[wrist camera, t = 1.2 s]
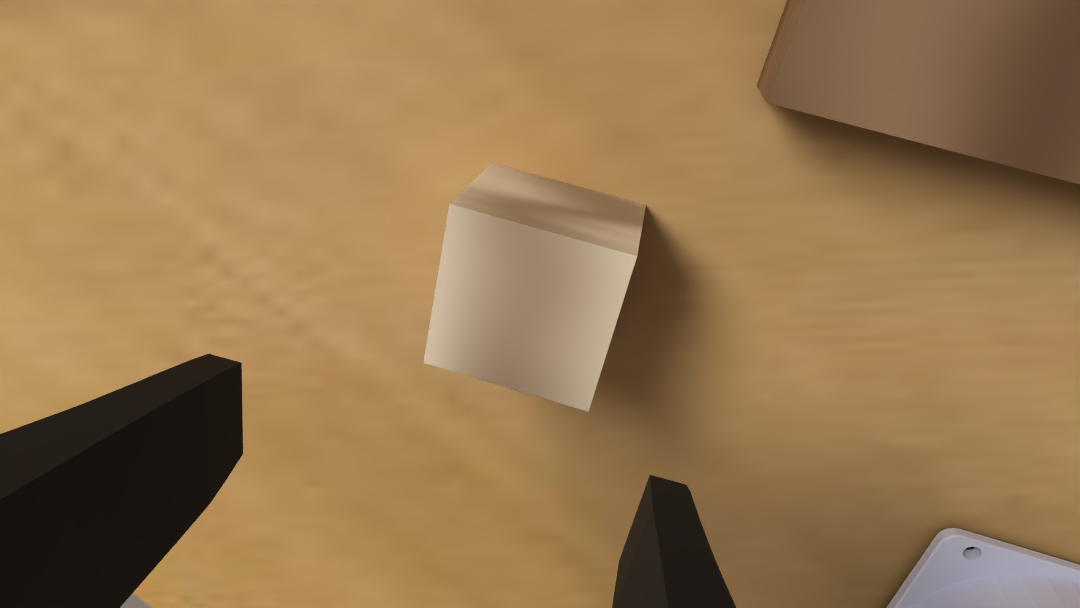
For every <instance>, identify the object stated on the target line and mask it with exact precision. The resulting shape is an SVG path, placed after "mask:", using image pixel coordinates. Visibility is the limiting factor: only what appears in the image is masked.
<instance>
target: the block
mask: <svg viewBox="0 0 1080 608" xmlns="http://www.w3.org/2000/svg"><path fill="white" fill-rule="evenodd" d="M645 208H646V205H644V204H641V203H637V202H633V201H630V200H626V199H623V198H619V197H615V196H612V195H608V194H604V193H601V192H597V191H593V190H590V189H586V188H582V187H579V186H575V185H571V184H568V183H564V182H560V181H557V180H553V179H549V178H546V177H542V176H538V175H535V174H531V173H528V172H524V171H520V170H517V169H513V168H509V167H506V166H502V165H498V164H495V163H491V164H490V165H489V166H488V167H487V168H486V169H485V170H484V171H483V172H482V173H481V174H480V175H479V176H477V177H476V178H475V179H474V180H473V181H472V182H471V183H470V184H469V185H468V186H467V187H466V188H465V189H464V190H463V191H462V192H461V193H460V194H459V195H458V196H457V197H456V198H455V199H454V200H453V201H452V202H451V203H450V205H449V211H448V217H447V223H446V229H445V235H444V241H443V247H442V253H441V260H440V266H439V272H438V278H437V284H436V290H435V296H434V302H433V308H432V314H431V320H430V326H429V333H428V339H427V345H426V351H425V357H424V363H426V364H429V365H433V366H436V367H439V368H443V369H446V370H450V371H453V372H456V373H460V374H463V375H466V376H470V377H473V378H476V379H480V380H483V381H487V382H490V383H493V384H497V385H500V386H503V387H507V388H510V389H513V390H517V391H520V392H523V393H527V394H530V395H534V396H537V397H540V398H544V399H547V400H550V401H554V402H557V403H560V404H564V405H567V406H570V407H574V408H577V409H581V410H584V411H587V412H589V409H590V406H591V402H592V399H593V396H594V393H595V390H596V386H597V383H598V380H599V377H600V374H601V370H602V367H603V364H604V361H605V358H606V354H607V351H608V348H609V345H610V342H611V338H612V335H613V332H614V329H615V326H616V322H617V319H618V316H619V313H620V310H621V307H622V303H623V300H624V297H625V294H626V291H627V287H628V284H629V281H630V278H631V275H632V271H633V268H634V265H635V262H636V259H637V255H638V249H639V243H640V237H641V231H642V225H643V219H644V214H645Z"/></svg>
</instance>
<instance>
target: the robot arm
mask: <svg viewBox="0 0 1080 608" xmlns="http://www.w3.org/2000/svg"><path fill="white" fill-rule="evenodd" d="M242 454H243V427H242V368H241V363H240V362H237V361H233V360H229V359H226V358H222V357H218V356H215V355H211V354H207V355H204V356H201V357H198V358H195V359H193V360H190V361H187V362H185V363H182V364H180V365H177V366H175V367H172V368H170V369H167V370H165V371H162V372H160V373H158V374H155V375H153V376H150V377H148V378H145V379H143V380H141V381H138V382H136V383H133V384H131V385H128V386H126V387H123V388H121V389H119V390H116V391H114V392H111V393H109V394H106V395H104V396H101V397H99V398H96V399H94V400H91V401H89V402H86V403H84V404H81V405H79V406H76V407H74V408H71V409H68V410H65V411H63V412H60V413H57V414H54V415H52V416H49V417H46V418H43V419H41V420H38V421H35V422H33V423H30V424H27V425H24V426H22V427H19V428H16V429H13V430H11V431H8V432H5V433H2V434H0V608H120V606H122V604H123V603H124V602H125V601H126V600H127V599H128V597H129V596H130V595H131V594H132V593H133V592H134V591H135V590H136V588H137V587H138V586H139V585H140V584H141V583H142V582H143V580H144V579H145V578H146V577H147V576H148V575H149V574H150V572H151V571H152V570H153V569H154V568H155V567H156V565H157V564H158V563H159V562H160V561H161V560H162V559H163V557H164V556H165V555H166V554H167V553H168V552H169V551H170V549H171V548H172V547H173V546H174V545H175V544H176V543H177V541H178V540H179V539H180V538H181V537H182V536H183V534H184V533H185V532H186V531H187V530H188V529H189V527H190V526H191V525H192V524H193V523H194V522H195V521H196V519H197V518H198V517H199V516H200V515H201V513H202V512H203V511H204V510H205V509H206V507H207V506H208V505H209V504H210V503H211V501H212V500H213V498H214V497H215V495H216V494H217V492H218V491H219V490H220V488H221V487H222V485H223V484H224V482H225V481H226V479H227V478H228V476H229V475H230V473H231V471H232V470H233V468H234V467H235V465H236V464H237V462H238V461H239V459H240V457H241V456H242ZM968 547H974V548H973V549H970V550H965V549H966V548H968ZM612 608H736V606H735V604H734V602H733V599H732V597H731V595H730V593H729V590H728V588H727V586H726V583H725V581H724V579H723V577H722V574H721V572H720V570H719V567H718V565H717V563H716V560H715V558H714V555H713V553H712V550H711V548H710V545H709V542H708V540H707V537H706V535H705V532H704V529H703V527H702V524H701V521H700V518H699V516H698V513H697V510H696V507H695V504H694V501H693V498H692V495H691V492H690V490H689V489H688V487H687V485H685V484H681V483H678V482H674V481H670V480H667V479H663V478H659V477H656V476H652V475H650V476H649V479H648V482H647V485H646V487H645V490H644V493H643V496H642V499H641V501H640V504H639V507H638V510H637V513H636V515H635V518H634V521H633V524H632V527H631V529H630V532H629V535H628V538H627V541H626V543H625V546H624V549H623V552H622V555H621V557H620V560H619V566H618V573H617V579H616V586H615V592H614V599H613V606H612ZM886 608H1080V565H1079V564H1076V563H1073V562H1069V561H1066V560H1063V559H1059V558H1056V557H1053V556H1049V555H1046V554H1043V553H1039V552H1036V551H1033V550H1029V549H1026V548H1023V547H1019V546H1016V545H1013V544H1009V543H1006V542H1002V541H999V540H996V539H992V538H989V537H986V536H982V535H979V534H976V533H972V532H969V531H966V530H962V529H958V528H948V529H945V530H942V531H940V532H939V533H938V534H937V535H936V536H935V538H934V539H933V541H932V542H931V544H930V545H929V547H928V548H927V549H926V551H925V552H924V554H923V555H922V557H921V558H920V560H919V561H918V562H917V564H916V565H915V567H914V568H913V570H912V571H911V573H910V574H909V576H908V577H907V578H906V580H905V581H904V583H903V584H902V586H901V587H900V589H899V590H898V591H897V593H896V594H895V596H894V597H893V599H892V600H891V602H890V603H889V604H888V606H887V607H886Z"/></svg>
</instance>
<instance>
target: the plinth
mask: <svg viewBox="0 0 1080 608" xmlns="http://www.w3.org/2000/svg"><path fill="white" fill-rule="evenodd" d="M757 87H758V88H759V90H760V92H761V93H762V95H763V97H764V98H765V100H766V101H767V103H770V104H774V105H778V106H781V107H785V108H789V109H793V110H797V111H800V112H804V113H808V114H812V115H816V116H820V117H823V118H827V119H831V120H835V121H839V122H842V123H846V124H850V125H854V126H858V127H862V128H865V129H869V130H873V131H877V132H881V133H884V134H888V135H892V136H896V137H900V138H904V139H907V140H911V141H915V142H919V143H923V144H926V145H930V146H934V147H938V148H942V149H946V150H949V151H953V152H957V153H961V154H965V155H968V156H972V157H976V158H980V159H984V160H988V161H991V162H995V163H999V164H1003V165H1007V166H1010V167H1014V168H1018V169H1022V170H1026V171H1030V172H1033V173H1037V174H1041V175H1045V176H1049V177H1052V178H1056V179H1060V180H1064V181H1068V182H1072V183H1075V184H1079V185H1080V0H787V3H786V6H785V9H784V11H783V14H782V17H781V20H780V22H779V25H778V28H777V31H776V34H775V36H774V39H773V42H772V45H771V48H770V50H769V53H768V56H767V59H766V61H765V64H764V67H763V70H762V73H761V75H760V78H759V81H758V84H757Z"/></svg>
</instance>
